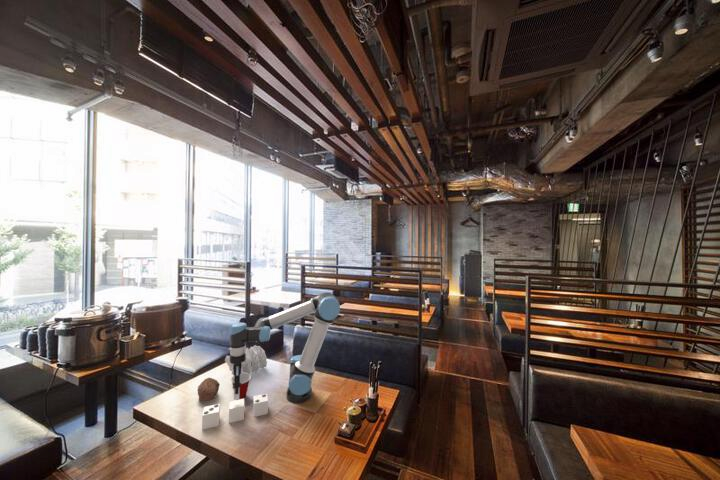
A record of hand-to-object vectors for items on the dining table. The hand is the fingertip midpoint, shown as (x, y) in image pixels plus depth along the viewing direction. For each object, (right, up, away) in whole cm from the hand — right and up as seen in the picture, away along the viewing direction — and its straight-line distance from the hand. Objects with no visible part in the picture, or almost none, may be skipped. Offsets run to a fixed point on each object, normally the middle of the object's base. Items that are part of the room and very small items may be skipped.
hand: (236, 398), depth 137 cm
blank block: (0, -10, 0) cm, 10 cm away
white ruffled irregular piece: (-13, -10, +44) cm, 46 cm away
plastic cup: (-5, -10, +17) cm, 20 cm away
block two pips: (+11, -10, +5) cm, 15 cm away
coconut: (-24, -9, +17) cm, 31 cm away
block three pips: (-11, -9, -5) cm, 15 cm away
